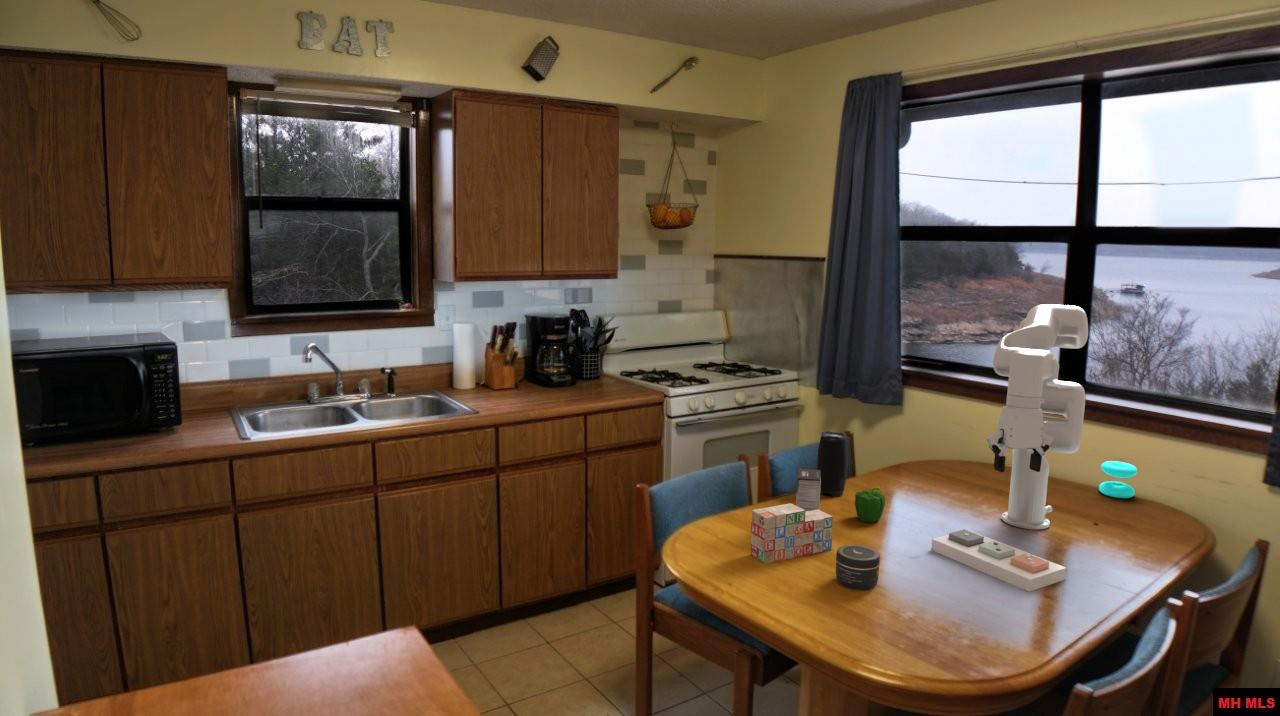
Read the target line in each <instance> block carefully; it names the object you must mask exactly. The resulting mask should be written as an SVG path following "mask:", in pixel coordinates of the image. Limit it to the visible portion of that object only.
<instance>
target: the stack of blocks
mask: <svg viewBox="0 0 1280 716" xmlns="http://www.w3.org/2000/svg"><path fill="white" fill-rule="evenodd" d="M833 520H834V517H833V515H830V514H829V513H827V512H824V511H822V510H821V509H819V510H818V509H817V510H812V511H806V510H804V509H802V508H800V507H797V506H796V504H793V503H785V504H784V503H783V504H779V505H773V506H768V507H764V508H756V509H755V508H754V509H752V510H751V525H750V533H751V537H750V538H751V539H750V542H751V543H750V555H751V557H754V558H755V559H757V560H758V559H759V560H758V561H760V562H762V564H768V563H773V562H778V561H779V560H780V561H783V560H788V559H794V558H798V557H802V556H807V555H806V554H808V555H812V554H817V553H823V552H828V551H831V550H832V545H833V543H832V542H833V525H834V523H833V522H834V521H833Z"/></svg>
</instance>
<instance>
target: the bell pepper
mask: <svg viewBox="0 0 1280 716" xmlns="http://www.w3.org/2000/svg"><path fill="white" fill-rule="evenodd" d="M875 490H877V491H875ZM880 490H881V487H880V486H876V485H875V486H873V487H871V488H870V490H869V491H868V490H866V489H863V490H861V491H857V492H856V493H855V496H854V506H855V512H856V515H857V517H858V519H860V520H862V522H864V523H865V522H866V523H874V522H876V521H880V520H881V518H882V516H883V513H884V510H885V506H886V498H885V495H883V493H882V492H880Z"/></svg>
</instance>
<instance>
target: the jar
mask: <svg viewBox="0 0 1280 716" xmlns="http://www.w3.org/2000/svg"><path fill="white" fill-rule="evenodd" d="M880 557H881V555H880V553H879V552H878V551H877V550H876V549H874V548H872V547H869V546H865V545H862V544H845V545H841V546H839V547H838V548H837V550H836V556H835V561H836V562H835V577H836V580H837V583H839V584H840V586H842V587H845V588H848V589H849V590H850V589H851V590H856V591H870V590H872V589H874V588H875V586H876V585H877V583H878V581H879V574H880V572H879V571H880V564H881V562H880V561H881V558H880Z"/></svg>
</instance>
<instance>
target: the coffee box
mask: <svg viewBox="0 0 1280 716" xmlns="http://www.w3.org/2000/svg"><path fill="white" fill-rule="evenodd" d="M796 475H797V477H796V478H797V479H796V494H795V497H796V498H795V506H797V507H800V508H802V509H804V510H806V511H812V510H817V509H818V510H820V502H821V499H820V498H821V494H820V486H821V471H820V470H817V469H808V468H807V469H806V468H805V469H804V468H797V474H796Z"/></svg>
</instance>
